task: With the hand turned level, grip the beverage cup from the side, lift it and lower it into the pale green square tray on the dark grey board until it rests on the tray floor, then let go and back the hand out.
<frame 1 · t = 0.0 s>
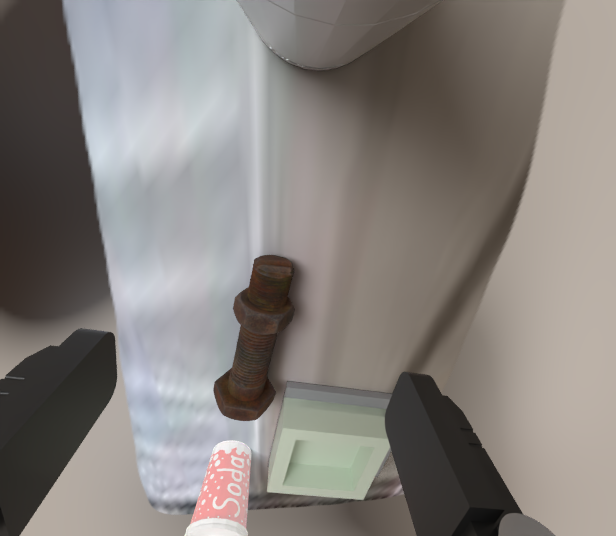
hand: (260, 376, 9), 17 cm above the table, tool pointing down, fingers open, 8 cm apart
pale green square tray: (323, 429, 37), on the table
beverage cup: (232, 450, 39), on the table
bolt: (261, 320, 30), on the table
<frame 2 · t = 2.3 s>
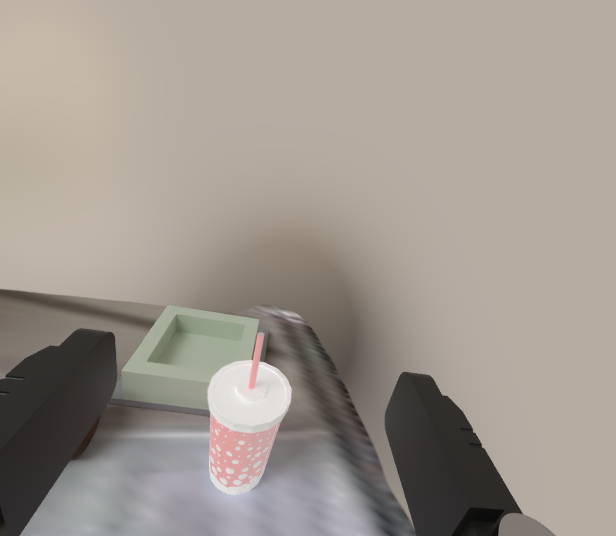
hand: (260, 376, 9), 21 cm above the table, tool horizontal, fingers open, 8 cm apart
pale green square tray: (199, 371, 36), on the table
beverage cup: (236, 467, 27), on the table
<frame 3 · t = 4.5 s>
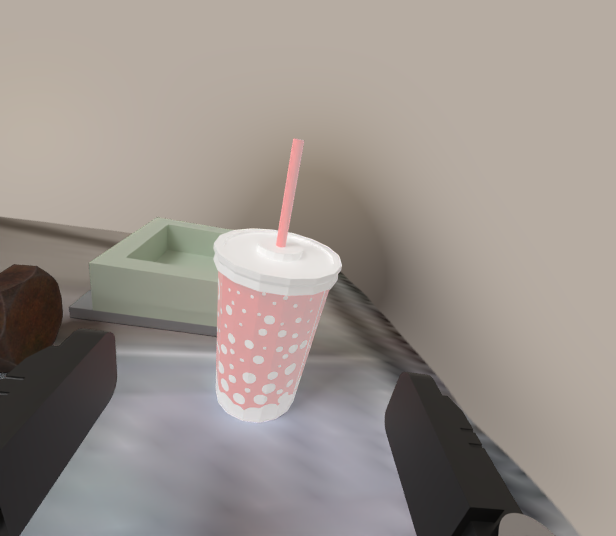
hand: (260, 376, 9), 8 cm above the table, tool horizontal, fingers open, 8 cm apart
pale green square tray: (198, 293, 27), on the table
beverage cup: (255, 392, 19), on the table
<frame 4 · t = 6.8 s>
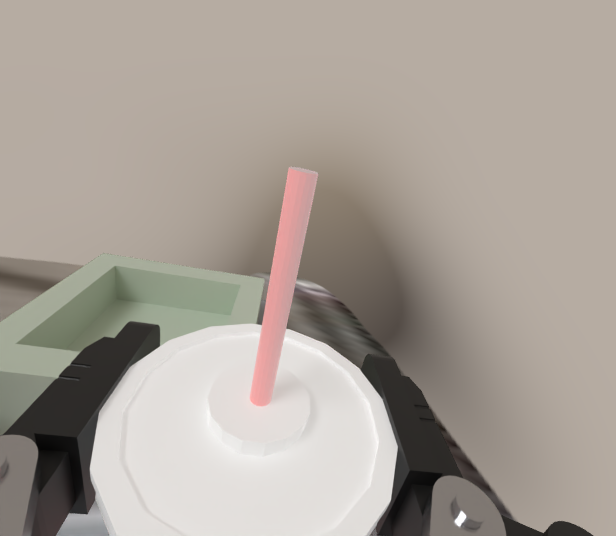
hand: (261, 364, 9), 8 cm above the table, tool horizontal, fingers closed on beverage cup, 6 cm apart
pale green square tray: (154, 368, 19), on the table
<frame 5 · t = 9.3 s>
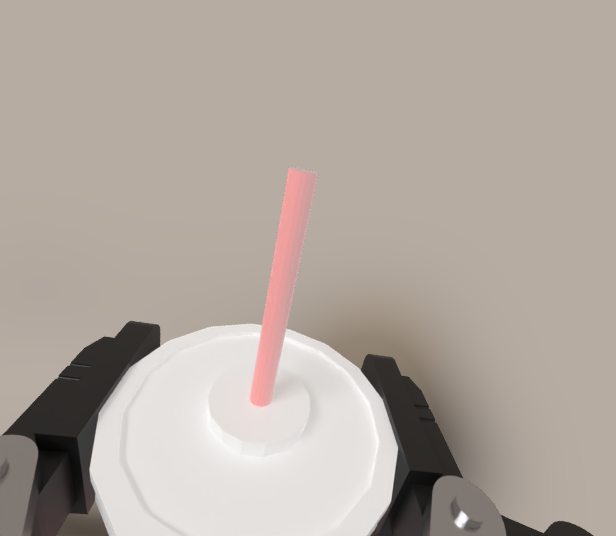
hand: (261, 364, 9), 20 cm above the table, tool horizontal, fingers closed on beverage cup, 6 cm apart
when the fingers open (11 cm above the table, at t = 12.0 s): beverage cup drops 1 cm, resting on pale green square tray.
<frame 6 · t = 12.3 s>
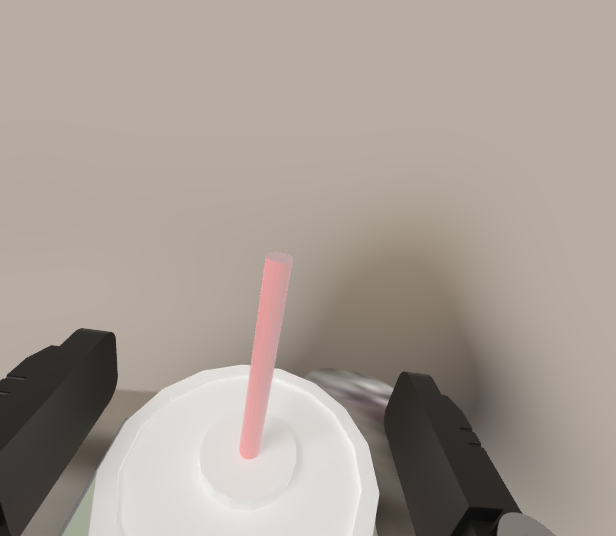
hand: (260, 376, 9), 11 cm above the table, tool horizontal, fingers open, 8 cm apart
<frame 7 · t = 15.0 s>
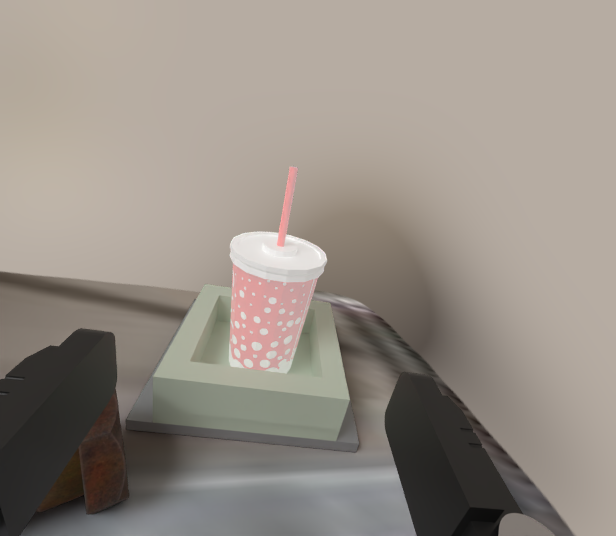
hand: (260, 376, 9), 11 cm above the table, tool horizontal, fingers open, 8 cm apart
pale green square tray: (255, 376, 25), on the table
beverage cup: (260, 361, 24), point 2 cm above the table, touching pale green square tray
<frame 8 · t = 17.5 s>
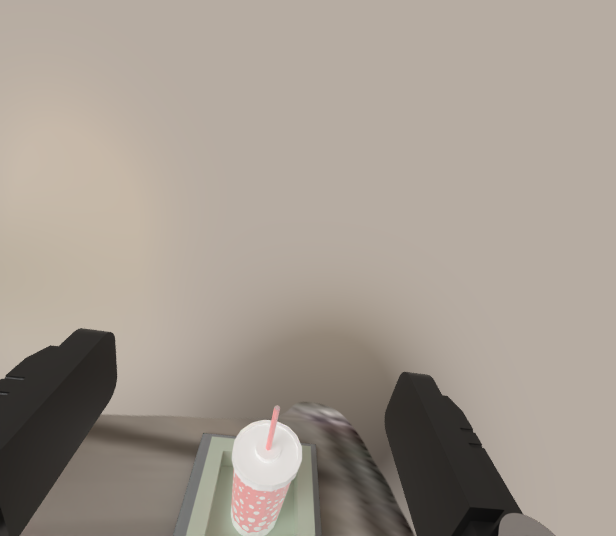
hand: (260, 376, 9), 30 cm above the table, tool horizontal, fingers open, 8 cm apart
pale green square tray: (251, 519, 32), on the table
beverage cup: (254, 512, 31), point 2 cm above the table, touching pale green square tray
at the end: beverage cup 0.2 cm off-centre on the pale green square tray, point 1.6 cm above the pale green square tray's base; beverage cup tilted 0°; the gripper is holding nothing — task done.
